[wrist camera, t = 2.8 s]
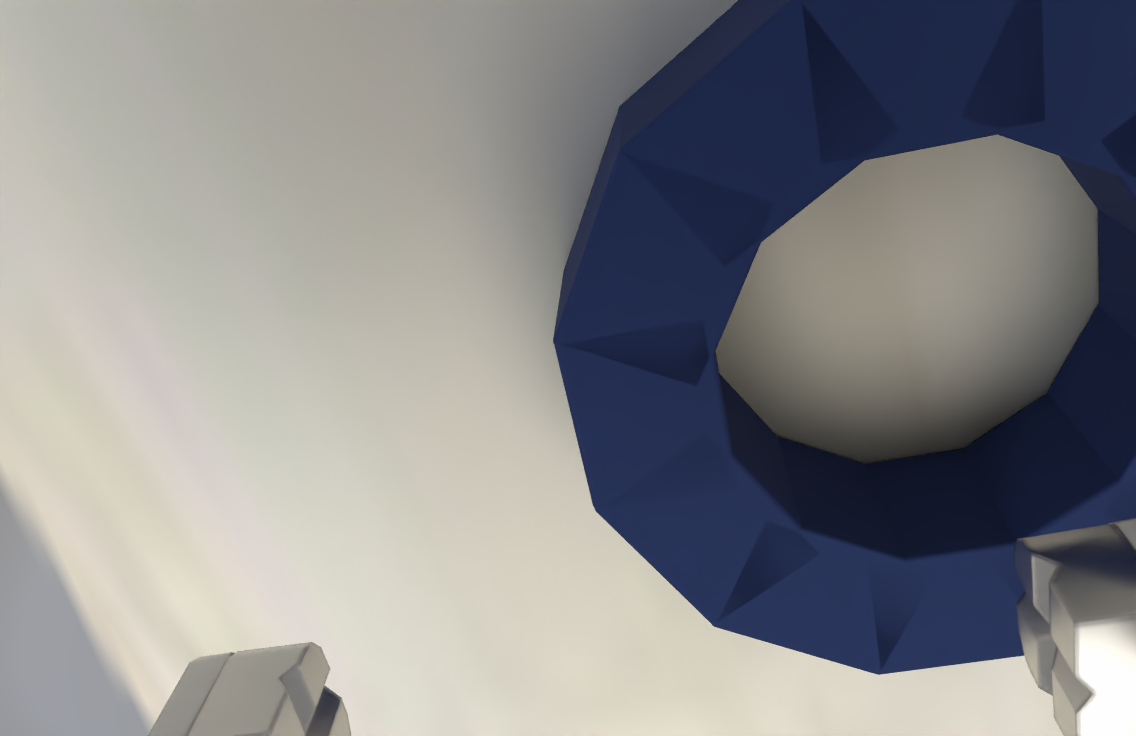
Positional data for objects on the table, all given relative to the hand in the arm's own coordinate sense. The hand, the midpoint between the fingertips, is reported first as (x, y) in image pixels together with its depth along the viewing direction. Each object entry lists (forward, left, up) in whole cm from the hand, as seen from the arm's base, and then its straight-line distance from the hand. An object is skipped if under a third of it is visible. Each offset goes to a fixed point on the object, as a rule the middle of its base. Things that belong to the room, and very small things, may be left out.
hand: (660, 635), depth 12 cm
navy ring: (0, +5, -8) cm, 9 cm away
